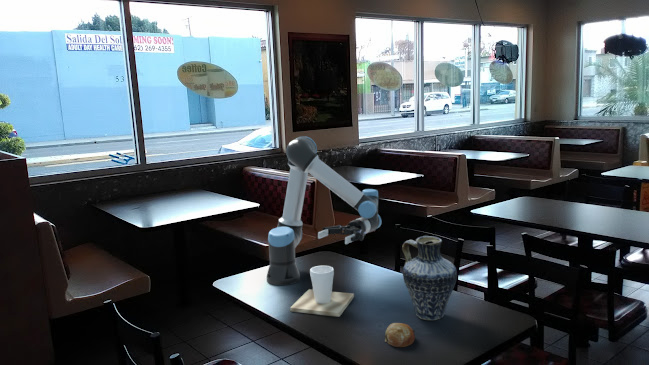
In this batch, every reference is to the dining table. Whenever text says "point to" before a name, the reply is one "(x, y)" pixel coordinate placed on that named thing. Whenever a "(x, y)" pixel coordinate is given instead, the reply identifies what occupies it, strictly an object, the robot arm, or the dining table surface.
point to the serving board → (322, 304)
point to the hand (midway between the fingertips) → (331, 238)
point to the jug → (428, 277)
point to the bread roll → (399, 335)
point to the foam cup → (322, 283)
